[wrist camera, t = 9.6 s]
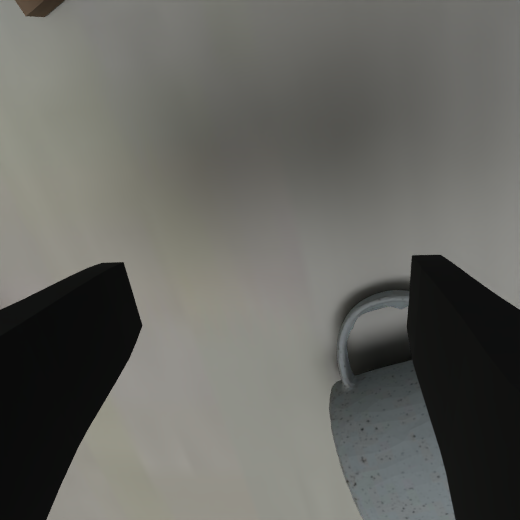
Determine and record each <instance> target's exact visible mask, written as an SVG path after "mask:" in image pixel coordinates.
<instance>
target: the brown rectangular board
mask: <svg viewBox="0 0 520 520" xmlns="http://www.w3.org/2000/svg"><path fill="white" fill-rule="evenodd" d="M15 1H16V2H17V4H18V5H19V7H20V8H21V10H22V11H23V13H24V14H25V16H34V17H45V16H46V15H48V14H49V13H50V12H51V11H52V10H54V9H55V8H56V7H57V6H58V5H60V4H61V3H62V2H63V1H64V0H15Z"/></svg>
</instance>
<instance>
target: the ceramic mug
mask: <svg viewBox="0 0 520 520" xmlns="http://www.w3.org/2000/svg"><path fill="white" fill-rule="evenodd" d="M408 305H409V291H406V290H389V291H384V292H381V293H377V294H374V295H371V296H369V297H367V298H365V299H364V300H362V301H360V302H359V303H358V304H357V305H356V306H355V307H354V308H353V309H352V310H351V311H350V312H349V313H348V314H347V316H346V318H345V320H344V322H343V324H342V326H341V329H340V332H339V335H338V341H337V362H338V367H339V372H340V376H341V379H342V380H340V381H338V382H336V383H335V384H334V385H333V387H332V390H331V394H330V404H329V412H330V419H331V429H332V434H333V438H334V442H335V446H336V451H337V454H338V457H339V461H340V465H341V468H342V471H343V474H344V477H345V480H346V483H347V485H348V487H349V489H350V492H351V494H352V497H353V500H354V502H355V504H356V506H357V508H358V510H359V513H360V515H361V516H362V518H363V520H455V515H454V510H453V505H452V501H451V496H450V491H449V486H448V481H447V476H446V471H445V468H444V464H443V460H442V456H441V453H440V449H439V446H438V443H437V439H436V436H435V433H434V430H433V427H432V424H431V420H430V417H429V414H428V411H427V408H426V404H425V401H424V398H423V395H422V392H421V388H420V385H419V382H418V378H417V375H416V372H415V369H414V365H413V360H409V361H406V362H402V363H397V364H394V365H390V366H386V367H382V368H379V369H375V370H372V371H369V372H365V373H362V374H359V375H356V376H355V375H354V374H353V372H352V371H351V367H350V363H349V358H348V351H347V339H348V337H349V334H350V330H352V329H353V326H354V323H355V321H356V319H357V318H358V317H359V316H360V315H362V314H364V313H366V312H369V311H373V310H376V309H380V308H384V307H395V308H399V309H403V308H405V307H407V306H408Z"/></svg>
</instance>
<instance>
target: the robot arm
mask: <svg viewBox="0 0 520 520" xmlns="http://www.w3.org/2000/svg"><path fill="white" fill-rule="evenodd" d="M141 328H142V323H141V319H140V316H139V313H138V309H137V306H136V303H135V299H134V296H133V292H132V289H131V286H130V282H129V279H128V276H127V272H126V269H125V266H124V262H117V263H101V264H98V265H94V266H92V267H89V268H87V269H85V270H82V271H80V272H78V273H76V274H74V275H72V276H69V277H67V278H65V279H63V280H61V281H59V282H57V283H55V284H53V285H51V286H49V287H47V288H45V289H43V290H41V291H39V292H37V293H35V294H33V295H31V296H29V297H27V298H25V299H23V300H21V301H19V302H16V303H14V304H12V305H10V306H8V307H6V308H3V309H1V310H0V520H46V519H47V517H48V514H49V512H50V510H51V507H52V505H53V502H54V500H55V498H56V495H57V493H58V490H59V488H60V486H61V484H62V481H63V479H64V477H65V475H66V473H67V470H68V468H69V466H70V464H71V462H72V460H73V457H74V455H75V453H76V451H77V449H78V447H79V445H80V443H81V441H82V439H83V437H84V436H85V434H86V432H87V430H88V428H89V427H90V425H91V423H92V422H93V420H94V418H95V416H96V415H97V413H98V411H99V410H100V408H101V406H102V405H103V403H104V401H105V400H106V398H107V396H108V394H109V393H110V391H111V389H112V388H113V386H114V384H115V383H116V381H117V379H118V377H119V376H120V374H121V372H122V370H123V369H124V367H125V365H126V363H127V362H128V360H129V358H130V356H131V353H132V351H133V349H134V346H135V344H136V341H137V339H138V336H139V333H140V330H141ZM407 331H408V337H409V343H410V349H411V355H412V360H413V365H414V369H415V372H416V375H417V378H418V382H419V385H420V388H421V392H422V395H423V398H424V401H425V404H426V408H427V411H428V414H429V417H430V420H431V424H432V427H433V430H434V433H435V436H436V439H437V443H438V446H439V449H440V453H441V456H442V460H443V464H444V468H445V471H446V476H447V481H448V486H449V491H450V496H451V501H452V505H453V510H454V515H455V520H520V310H519V309H518V308H516V307H515V306H513V305H511V304H510V303H508V302H507V301H505V300H504V299H502V298H501V297H499V296H498V295H496V294H495V293H493V292H492V291H491V290H489V289H488V288H486V287H485V286H483V285H482V284H481V283H479V282H478V281H476V280H475V279H474V278H472V277H471V276H470V275H468V274H467V273H465V272H464V271H463V270H461V269H460V268H459V267H457V266H456V265H455V264H453V263H452V262H450V261H449V260H448V259H446V258H445V257H443V256H441V255H412V263H411V277H410V291H409V305H408V320H407Z"/></svg>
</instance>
